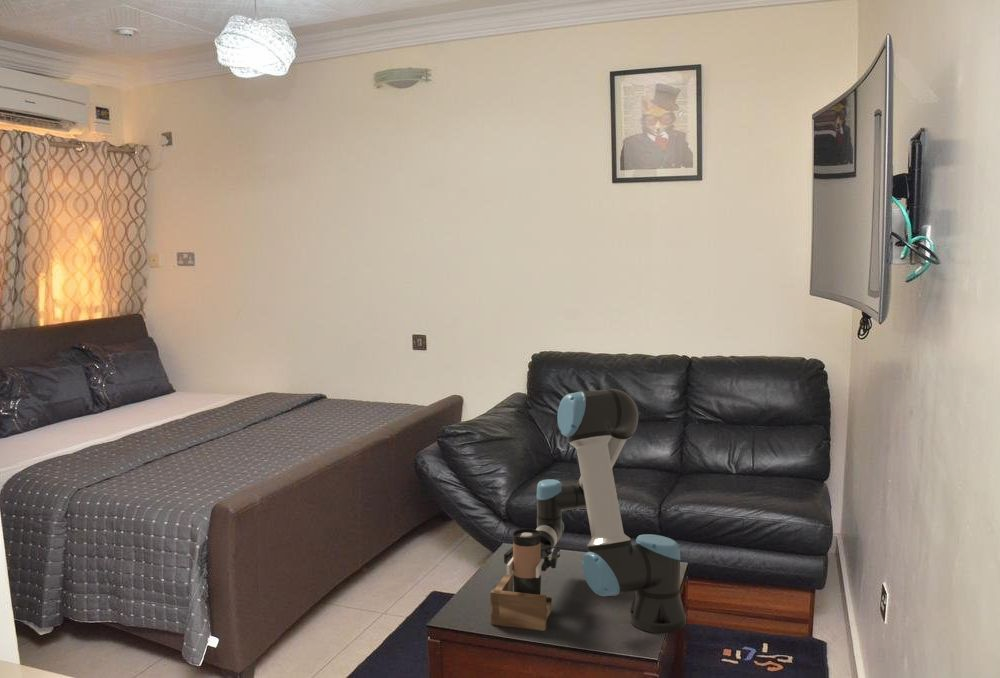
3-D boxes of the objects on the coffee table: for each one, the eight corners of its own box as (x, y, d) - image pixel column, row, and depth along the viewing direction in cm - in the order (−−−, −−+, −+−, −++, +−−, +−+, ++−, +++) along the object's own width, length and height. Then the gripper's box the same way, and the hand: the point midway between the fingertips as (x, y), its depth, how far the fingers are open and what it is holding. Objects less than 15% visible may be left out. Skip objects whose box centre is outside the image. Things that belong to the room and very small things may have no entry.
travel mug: (546, 601, 231) (545, 531, 229) (532, 611, 225) (531, 539, 223) (522, 595, 235) (521, 526, 233) (508, 605, 229) (507, 534, 227)
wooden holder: (504, 603, 239) (504, 573, 238) (555, 608, 235) (555, 578, 234) (490, 624, 226) (490, 592, 225) (544, 630, 222) (544, 598, 221)
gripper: (575, 557, 244) (559, 588, 222) (508, 551, 249) (486, 581, 227) (575, 532, 243) (559, 561, 221) (508, 527, 248) (486, 554, 226)
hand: (522, 571), depth 224 cm, fingers closed on travel mug, 7 cm apart
